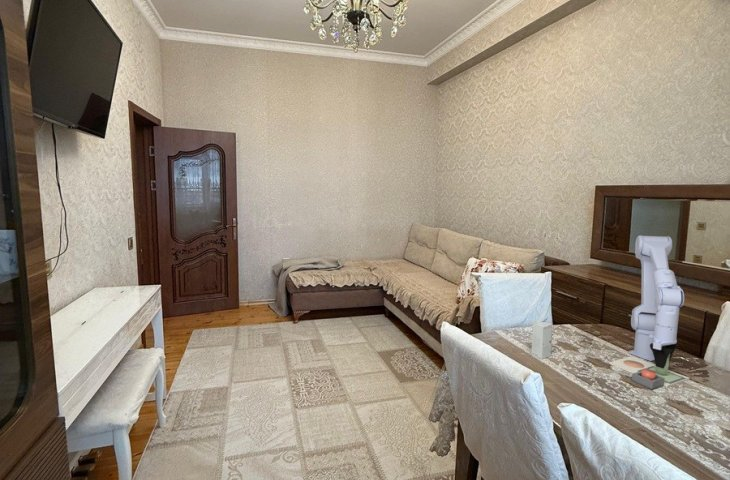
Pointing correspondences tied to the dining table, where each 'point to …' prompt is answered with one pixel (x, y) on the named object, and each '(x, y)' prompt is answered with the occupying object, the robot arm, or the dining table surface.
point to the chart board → (637, 365)
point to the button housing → (648, 381)
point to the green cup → (663, 370)
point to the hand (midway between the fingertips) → (662, 365)
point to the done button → (648, 374)
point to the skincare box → (541, 339)
